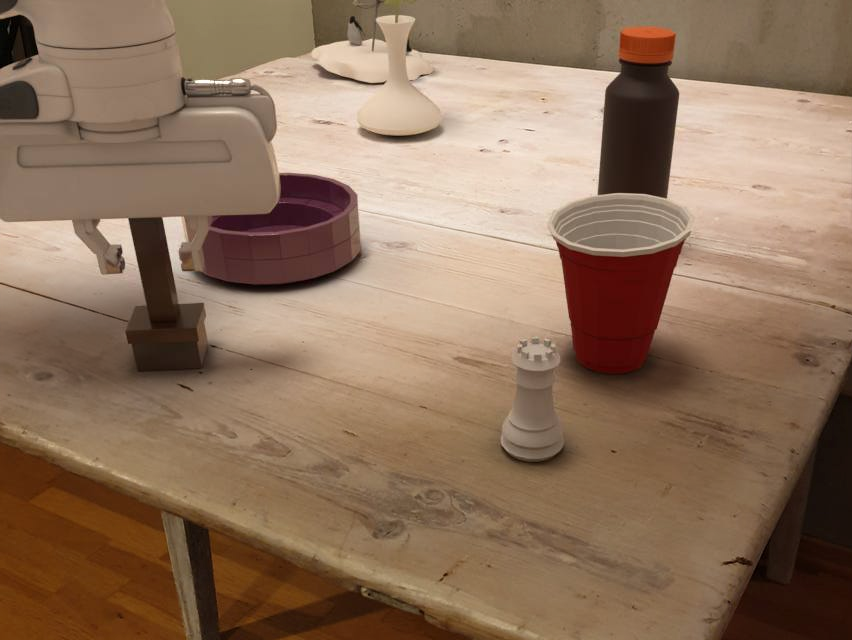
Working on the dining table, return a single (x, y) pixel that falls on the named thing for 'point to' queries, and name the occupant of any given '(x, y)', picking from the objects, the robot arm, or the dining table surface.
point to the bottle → (640, 116)
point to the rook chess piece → (533, 404)
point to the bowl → (285, 235)
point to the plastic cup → (617, 273)
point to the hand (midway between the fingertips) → (153, 270)
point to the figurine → (366, 55)
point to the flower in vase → (398, 87)
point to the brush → (162, 308)
